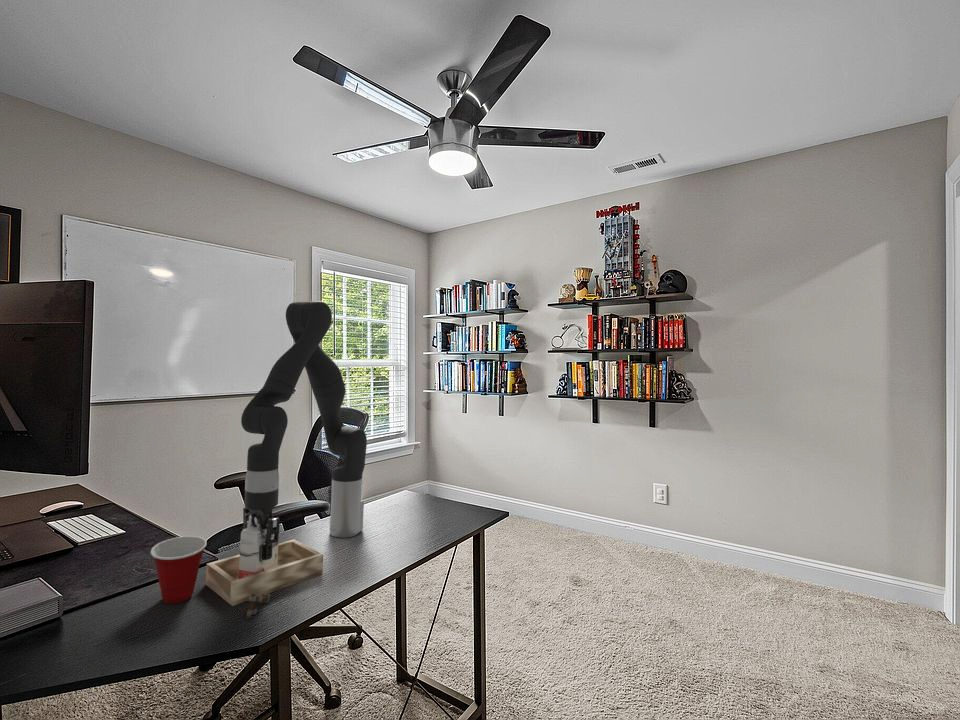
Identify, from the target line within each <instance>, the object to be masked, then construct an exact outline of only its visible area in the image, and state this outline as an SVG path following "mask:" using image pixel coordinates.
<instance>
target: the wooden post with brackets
mask: <svg viewBox="0 0 960 720" xmlns="http://www.w3.org/2000/svg"><path fill="white" fill-rule="evenodd" d="M270 597H271V593H268V594H262V596H260V597H257V596H255V594H252V596H249V601H248V602H249V606H248V610H247V613H246V619H251V617H252V616H253V615H256V614H257V612H258V608H253V607H254V605H255V603H257V602H259V603H261V604H262V603H263V604H268V603H270ZM251 615H252V616H251Z"/></svg>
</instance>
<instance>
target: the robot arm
mask: <svg viewBox="0 0 960 720" xmlns="http://www.w3.org/2000/svg"><path fill="white" fill-rule="evenodd" d="M332 320H333V314H332V310H331V307H330V306H329V305H328V304H327V303H326V302H324V301H320V300H307V301H306V300H305V301H303V300H302V301H294V302H293V301H292V302H291V303H289V304H288V305H287V308H286V310H285V321H286V325H287V328H288V330H289V332H290V335H291V337H292V339H293V342H294V344H292V346H291V347H290V348H289V349H287V351H286V352H284V353H283V354H282V355H280V357H279V358H278V359H277V360H276V362H275V363H274V365H273V366H272V367H271V370H270V372H269V374H268V375H267V378H266V380H265V381H264V384H263V386H262V388H261V389H260V390H259V391H258V392H257V393H256V394H255V395H254V397H253V398H251V400H250V402H249V403H247V405H246V406H245V408H244V409H243V412H242V414H241V418H240V420H241V422H240V423H241V426H242V428H243V430H244V431H245V432H246V433H248V434H249V433H250V434H255V435H263V438H262V441H261V442H260V443H259V442H258V443H254V444H251V445H250V446H249V447H248V450H247V456H246V457H247V458H246V459H247V461H246V474H245V479H244V480H245V481H244V482H245V483H244V505H243V506H244V507H243V508H242V510H243V511H242V513H243V514H242V516H243V517H242V519H243V520H242V521H243V523H242V530H243V529H245V528H247V527H250V526H252V525H253V526H254V527H257V530H258V531H259V532H261V535H262V544H263V545H262V560H268V559H271V558H272V544H273V543H276V542H278V543H279V540H278V538H280V536H279V535H280V525H281V524H280V523H281V518H280V517H274V514H273V513H274V512H273V509H274V508H276V507H277V506H278V505H279V493H280V492H279V491H280V490H279V488H280V472H279V458H280V451H281V446H282V444H283V439H284V437H285V434H286V430H287V427H288V420H289V419H288V414H287V412H286V411H285V409H284V408H282V407H280V406H277V405H278V404H280V403H285V402H288V401H289V400H290V399H291V397H292V395H293V393H294V391H295V388H296V386H297V384H298V381H299V379H300V377H301V375H302V372H303V371H304V369H305V371H306V374H307V376H308V377H307V378H308V380H309V384H310V387H311V389H312V392H313V395H314V398H315V399H314V400H315V401H316V404H317V407H318V411H319V414H320V418H321V423H322V427H323V431H324V436H325V441H326V444H327V446H328V450H329V451H330V453H331V454H333V455H335V456H339V457H345V461H344V465H341V466H337V467H334V468H333V470H332V472H331V493H330V495H331V497H330V499H331V500H330V517H329V535H330V536H332V537H335V538H352V537H355V536H357V534H358V533H359V532H360V531H362V530H363V531H364V527H363V526H364V509H365V508H364V507H365V504H364V503H365V502H364V501H363V500H362V495H363V494H362V491H363V487H362V486H363V472H364V470H365V467H366V454H367V444H368V442H367V441H368V440H367V438H368V437H367V435H366V432H365V431H364V430H363V428H359V427H351V426H346V425H344V422H343V420H342V416H341V408H342V405H343V402H344V400H345V396H346V384H345V381H344V378H343V375H342V372H341V369H340V368H339V366H338V364H336V362H335V361H334V360H333V359H332V358H331V357H330V356H329V355H328V354H327V353H326V352H325V351H324V350H323V348H322V347H321V346H320V343H321V342H322V340H323V339H324V338H325V336H326V334H327V333H328V331H329V330H330V327H331V324H332ZM263 529H267V531H263ZM363 531H362V532H363ZM360 533H361V532H360ZM360 533H359V534H360ZM266 534H267V535H266ZM273 534H274V535H273ZM359 534H358V535H359ZM265 535H266V537H265Z"/></svg>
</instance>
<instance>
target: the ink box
mask: <svg viewBox="0 0 960 720" xmlns="http://www.w3.org/2000/svg"><path fill="white" fill-rule="evenodd" d="M263 531H267V529H263ZM266 535H267V534H266ZM266 535H265V537H266ZM273 535H274V534H273ZM279 538H280V537H279ZM279 538H278V542H276V543H273V544H272V558H271V559H268V560H262V545H263V544H262V535H261V532H259V531H258V530H257V527H254V526H253V525H252V526H250V527H247V528H245V529H243V528H242V531H240V543H239V554H240V559H239V577H238V579H242V578H245V577H248V576H251V575H254V574H257V573H260V572H263V571H267V570H270V569H273V568H276V567H277V560H278V544H279Z"/></svg>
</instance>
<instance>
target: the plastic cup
mask: <svg viewBox="0 0 960 720" xmlns="http://www.w3.org/2000/svg"><path fill="white" fill-rule="evenodd" d="M206 547H207V539H205V538H204V537H200V536H197V535H195V536H194V535H185V536H179V537H178V536H177V537H172V538H169V539H165V540H164V541H160V542H159V543H156V544H155V545H154V546H152V548H151V551H150V555H151V556H152V557H153V560H154V564H155V566H156V573H157V578H158V584H159V588H160V596H161V599H162V601H163V603H166V604H177V603H182V602H185V601H187V600H189V599H190V598H191V597H193V594H194V589H195V586H196V582H197V578H198V577H197V576H198V573H199V570H200V569H199V568H200V564H201V560H202V556H203V553H204V551H205V548H206Z"/></svg>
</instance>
